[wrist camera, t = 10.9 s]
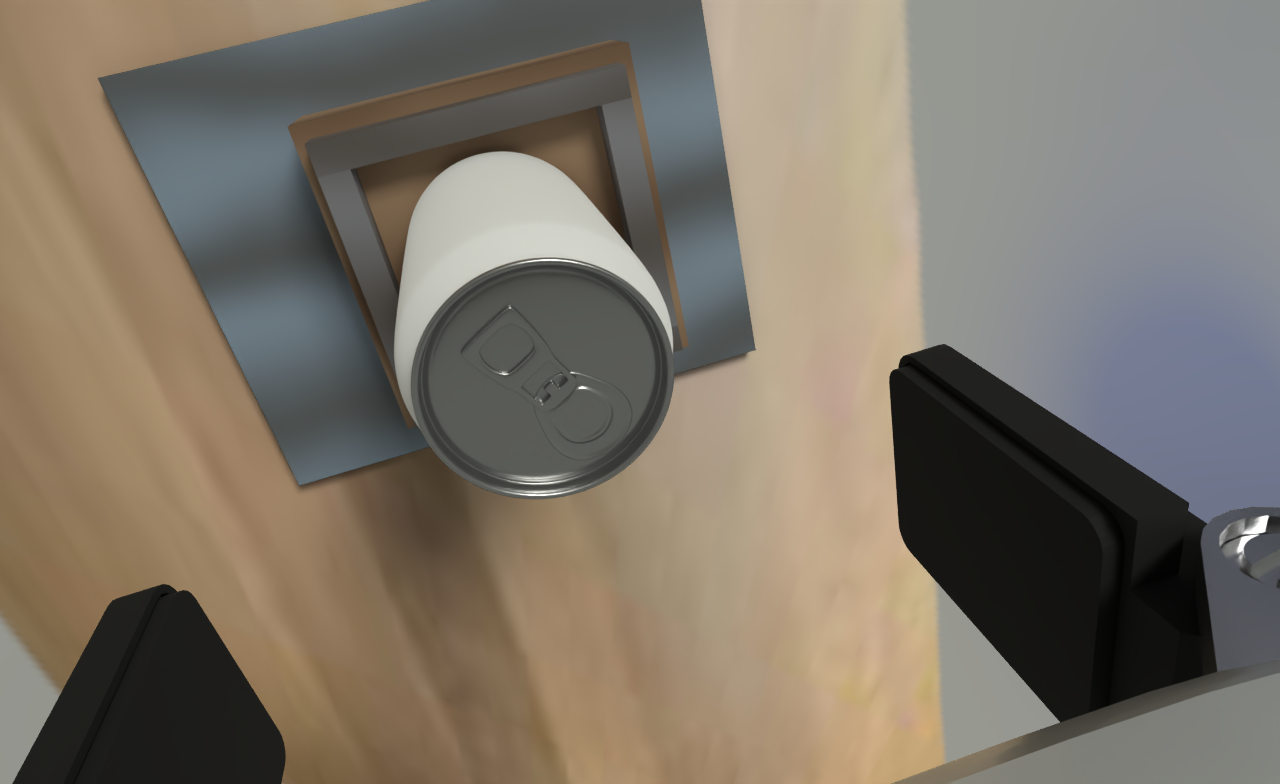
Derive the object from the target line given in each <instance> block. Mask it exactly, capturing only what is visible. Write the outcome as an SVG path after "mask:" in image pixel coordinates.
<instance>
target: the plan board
mask: <svg viewBox="0 0 1280 784" xmlns="http://www.w3.org/2000/svg"><path fill="white" fill-rule="evenodd" d="M98 80H99V82H100V84H101V86H102V88H103V90H104V92H105V94H106V96H107V98H108V100H109V102H110V104H111V106H112V108H113V110H114V112H115V114H116V116H117V118H118V120H119V122H120V124H121V126H122V128H123V130H124V132H125V134H126V136H127V138H128V140H129V142H130V144H131V146H132V148H133V150H134V152H135V154H136V156H137V158H138V160H139V163H140V165H141V167H142V169H143V171H144V173H145V175H146V177H147V179H148V181H149V183H150V185H151V187H152V189H153V191H154V193H155V195H156V197H157V199H158V201H159V203H160V205H161V207H162V209H163V211H164V213H165V215H166V217H167V219H168V221H169V223H170V225H171V227H172V229H173V231H174V233H175V235H176V237H177V239H178V241H179V243H180V245H181V247H182V249H183V251H184V253H185V256H186V258H187V260H188V262H189V264H190V266H191V268H192V270H193V272H194V274H195V276H196V278H197V280H198V282H199V284H200V286H201V288H202V290H203V292H204V294H205V296H206V298H207V300H208V302H209V304H210V306H211V308H212V310H213V312H214V314H215V316H216V318H217V320H218V322H219V324H220V326H221V328H222V330H223V332H224V334H225V336H226V338H227V340H228V342H229V344H230V347H231V349H232V351H233V353H234V355H235V357H236V359H237V361H238V363H239V365H240V367H241V369H242V371H243V373H244V375H245V377H246V379H247V381H248V383H249V385H250V387H251V389H252V391H253V393H254V395H255V397H256V399H257V401H258V403H259V405H260V407H261V409H262V411H263V413H264V415H265V417H266V419H267V421H268V423H269V425H270V427H271V429H272V431H273V433H274V435H275V437H276V440H277V442H278V444H279V446H280V448H281V450H282V452H283V454H284V456H285V458H286V460H287V462H288V464H289V466H290V468H291V470H292V472H293V474H294V476H295V478H296V480H297V482H298V484H299V485H303V484H306V483H309V482H313V481H316V480H319V479H323V478H326V477H330V476H333V475H336V474H340V473H343V472H346V471H350V470H353V469H356V468H360V467H363V466H367V465H370V464H373V463H377V462H380V461H383V460H387V459H390V458H394V457H397V456H400V455H404V454H407V453H410V452H414V451H417V450H420V449H424V448H427V447H430V446H429V444H428V443H427V441H426V439H425V437H424V436H423V434H422V432H421V430H420V428H419V427H418V426H417V424H416V423H415V421H414V420H413V418H412V416H411V415H410V413H409V411H408V409H407V407H406V405H405V403H404V400H403V398H402V395H401V392H400V389H399V385H398V381H397V376H396V370H395V362H394V337H395V326H396V316H397V308H398V300H399V291H400V284H401V276H402V268H403V261H404V254H405V247H406V240H407V235H408V229H409V225H410V221H411V217H412V214H413V212H414V209H415V207H416V205H417V203H418V201H419V199H420V197H421V196H422V194H423V192H424V191H425V190H426V188H427V187H428V186H429V185H430V183H431V182H432V181H433V180H434V179H435V178H436V177H437V176H438V175H439V174H441V173H442V172H443V171H444V170H446V169H447V168H449V167H450V166H452V165H453V164H455V163H457V162H459V161H461V160H463V159H466V158H468V157H471V156H474V155H478V154H482V153H488V152H499V151H505V152H516V153H522V154H526V155H530V156H533V157H536V158H538V159H541V160H543V161H545V162H547V163H549V164H551V165H553V166H554V167H556V168H557V169H559V170H560V171H561V172H563V173H564V174H565V175H566V176H568V177H569V178H570V179H571V180H572V181H573V182H574V183H575V184H576V185H577V186H578V187H579V188H580V190H581V191H582V192H583V193H584V194H585V195H586V196H587V197H588V199H589V200H590V201H591V202H592V203H593V204H594V206H595V207H596V208H597V209H598V210H599V211H600V213H601V214H602V215H603V216H604V217H605V219H606V220H607V221H608V222H609V223H610V224H611V226H612V227H613V228H614V229H615V230H616V232H617V233H618V234H619V235H620V236H621V238H622V239H623V240H624V241H625V243H626V244H627V245H628V246H629V247H630V249H631V250H632V251H633V252H634V254H635V255H636V256H637V257H638V259H639V260H640V261H641V262H642V264H643V265H644V266H645V268H646V269H647V271H648V272H649V274H650V275H651V276H652V278H653V280H654V281H655V283H656V285H657V287H658V289H659V291H660V293H661V295H662V297H663V300H664V302H665V305H666V307H667V310H668V314H669V317H670V322H671V327H672V335H673V360H674V374H676V373H680V372H683V371H686V370H690V369H693V368H696V367H700V366H703V365H706V364H710V363H713V362H717V361H720V360H723V359H727V358H730V357H733V356H737V355H740V354H743V353H747V352H750V351H754V350H755V344H754V338H753V331H752V325H751V318H750V312H749V306H748V299H747V293H746V286H745V280H744V273H743V267H742V261H741V254H740V248H739V241H738V235H737V228H736V222H735V216H734V209H733V203H732V196H731V190H730V183H729V177H728V171H727V164H726V158H725V151H724V145H723V138H722V132H721V126H720V119H719V113H718V106H717V100H716V93H715V87H714V81H713V74H712V68H711V61H710V55H709V48H708V42H707V36H706V29H705V23H704V16H703V10H702V3H701V0H430V1H425V2H421V3H417V4H412V5H408V6H404V7H400V8H395V9H391V10H387V11H383V12H378V13H374V14H370V15H365V16H361V17H357V18H353V19H348V20H344V21H340V22H336V23H331V24H327V25H323V26H319V27H314V28H310V29H306V30H301V31H297V32H293V33H289V34H284V35H280V36H276V37H272V38H267V39H263V40H259V41H254V42H250V43H246V44H242V45H237V46H233V47H229V48H225V49H220V50H216V51H212V52H208V53H203V54H199V55H195V56H190V57H186V58H182V59H178V60H173V61H169V62H165V63H161V64H156V65H152V66H148V67H143V68H139V69H135V70H131V71H126V72H122V73H118V74H114V75H109V76H105V77H101V78H98Z"/></svg>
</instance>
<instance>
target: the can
mask: <svg viewBox="0 0 1280 784" xmlns="http://www.w3.org/2000/svg"><path fill="white" fill-rule="evenodd" d="M394 362H395V370H396V376H397V381H398V385H399V389H400V392H401V395H402V398H403V400H404V403H405V405H406V407H407V409H408V411H409V413H410V415H411V416H412V418H413V420H414V421H415V423H416V424H417V426H418V427H419V428H420V430H421V432H422V434H423V436H424V437H425V439H426V441H427V443H428V444H429V446H430V447H431V448H432V450H433V451H434V452H435V454H436V455H437V456H438V457H439V458H440V459H441V461H442V462H443V463H444V464H445V465H447V466H448V467H449V468H450V469H451V470H452V471H454V472H455V473H456V474H458V475H459V476H460V477H462V478H463V479H465V480H467V481H468V482H470V483H472V484H474V485H476V486H478V487H480V488H482V489H485V490H487V491H490V492H493V493H496V494H500V495H504V496H508V497H514V498H521V499H550V498H558V497H564V496H568V495H573V494H576V493H579V492H583V491H585V490H588V489H591V488H593V487H595V486H598V485H600V484H602V483H604V482H605V481H607V480H609V479H611V478H612V477H614V476H615V475H617V474H618V473H620V472H621V471H623V470H624V469H625V468H626V467H628V466H629V465H630V464H631V463H632V462H633V461H635V460H636V459H637V458H638V457H639V456H640V455H641V453H642V452H643V451H644V450H645V449H646V448H647V446H648V445H649V444H650V442H651V441H652V440H653V438H654V437H655V435H656V434H657V432H658V430H659V428H660V427H661V425H662V423H663V421H664V418H665V416H666V413H667V411H668V408H669V405H670V401H671V397H672V392H673V385H674V360H673V335H672V327H671V322H670V317H669V314H668V310H667V307H666V305H665V302H664V300H663V297H662V295H661V293H660V291H659V289H658V287H657V285H656V283H655V281H654V280H653V278H652V276H651V275H650V274H649V272H648V271H647V269H646V268H645V266H644V265H643V264H642V262H641V261H640V260H639V259H638V257H637V256H636V255H635V254H634V252H633V251H632V250H631V249H630V247H629V246H628V245H627V244H626V243H625V241H624V240H623V239H622V238H621V236H620V235H619V234H618V233H617V232H616V230H615V229H614V228H613V227H612V226H611V224H610V223H609V222H608V221H607V220H606V219H605V217H604V216H603V215H602V214H601V213H600V211H599V210H598V209H597V208H596V207H595V206H594V204H593V203H592V202H591V201H590V200H589V199H588V197H587V196H586V195H585V194H584V193H583V192H582V191H581V190H580V188H579V187H578V186H577V185H576V184H575V183H574V182H573V181H572V180H571V179H570V178H569V177H568V176H566V175H565V174H564V173H563V172H561V171H560V170H559V169H557V168H556V167H554V166H553V165H551V164H549V163H547V162H545V161H543V160H541V159H538V158H536V157H533V156H530V155H526V154H522V153H516V152H505V151H499V152H488V153H482V154H478V155H474V156H471V157H468V158H466V159H463V160H461V161H459V162H457V163H455V164H453V165H452V166H450V167H449V168H447V169H446V170H444V171H443V172H442V173H441V174H439V175H438V176H437V177H436V178H435V179H434V180H433V181H432V182H431V183H430V185H429V186H428V187H427V188H426V190H425V191H424V192H423V194H422V196H421V197H420V199H419V201H418V203H417V205H416V207H415V209H414V212H413V214H412V217H411V221H410V225H409V229H408V235H407V240H406V247H405V254H404V261H403V268H402V276H401V284H400V291H399V300H398V308H397V316H396V326H395V337H394Z"/></svg>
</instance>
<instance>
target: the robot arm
mask: <svg viewBox="0 0 1280 784" xmlns="http://www.w3.org/2000/svg"><path fill="white" fill-rule="evenodd" d="M889 384H890V399H891V414H892V429H893V444H894V459H895V474H896V489H897V504H898V519H899V529H900V532H901V536H902V538H903V541H904V543H905V545H906V546H907V548H908V549H909V551H910V552H911V553H912V554H913V556H914V557H915V558H916V559H917V560H918V561H919V562H920V564H921V565H922V566H923V567H924V568H925V569H926V570H927V571H928V573H929V574H930V575H931V576H932V577H933V578H934V579H935V581H936V582H937V583H938V584H939V585H940V586H941V587H942V589H943V590H944V591H945V592H946V593H947V594H948V595H949V596H950V597H951V599H952V600H953V601H954V602H955V603H956V604H957V606H958V607H959V608H960V609H961V610H962V611H963V612H964V613H965V615H966V616H967V617H968V618H969V619H970V620H971V621H972V623H973V624H974V625H975V626H976V627H977V628H978V629H979V630H980V632H981V633H982V634H983V635H984V636H985V637H986V638H987V640H988V641H989V642H990V643H991V644H992V645H993V646H994V648H995V649H996V650H997V651H998V652H999V653H1000V654H1001V656H1002V657H1003V658H1004V659H1005V660H1006V661H1007V662H1008V663H1009V665H1010V666H1011V667H1012V668H1013V669H1014V670H1015V671H1016V673H1017V674H1018V675H1019V676H1020V677H1021V678H1022V679H1023V680H1024V682H1025V683H1026V684H1027V685H1028V686H1029V687H1030V688H1031V690H1032V691H1033V692H1034V693H1035V694H1036V695H1037V696H1038V698H1039V699H1040V700H1041V701H1042V702H1043V703H1044V704H1045V705H1046V707H1047V708H1048V709H1049V710H1050V711H1051V712H1052V713H1053V715H1054V716H1055V717H1056V718H1057V719H1058V720H1059V721H1060V723H1058V724H1055V725H1052V726H1050V727H1046V728H1044V729H1040V730H1038V731H1035V732H1032V733H1029V734H1026V735H1023V736H1020V737H1017V738H1014V739H1012V740H1009V741H1006V742H1004V743H1001V744H998V745H995V746H993V747H990V748H987V749H985V750H982V751H979V752H976V753H974V754H971V755H968V756H965V757H963V758H960V759H957V760H955V761H952V762H949V763H946V764H944V765H941V766H938V767H935V768H933V769H930V770H927V771H924V772H922V773H919V774H916V775H913V776H911V777H908V778H905V779H903V780H900V781H897V782H894V783H892V784H1280V508H1279V507H1248V508H1243V509H1236V510H1230V511H1228V512H1226V513H1223V514H1221V515H1219V516H1216V517H1214V518H1213V519H1212V520H1211V521H1210V522H1209V523H1208V524H1207V523H1205V522H1204V521H1202V520H1201V519H1199V518H1198V517H1196V516H1195V515H1193V514H1192V513H1190V512H1189V511H1188V508H1189V503H1188V502H1187V501H1185V500H1184V499H1182V498H1180V497H1179V496H1178V495H1176V494H1175V493H1173V492H1172V491H1170V490H1168V489H1167V488H1165V487H1164V486H1162V485H1161V484H1159V483H1158V482H1156V481H1155V480H1153V479H1152V478H1150V477H1149V476H1147V475H1146V474H1144V473H1143V472H1141V471H1139V470H1138V469H1136V468H1135V467H1133V466H1132V465H1130V464H1129V463H1127V462H1126V461H1124V460H1123V459H1121V458H1120V457H1118V456H1117V455H1115V454H1113V453H1112V452H1110V451H1109V450H1107V449H1106V448H1104V447H1103V446H1101V445H1100V444H1098V443H1097V442H1095V441H1093V440H1092V439H1090V438H1089V437H1087V436H1086V435H1084V434H1083V433H1081V432H1080V431H1078V430H1077V429H1075V428H1074V427H1072V426H1071V425H1069V424H1068V423H1066V422H1065V421H1063V420H1061V419H1060V418H1058V417H1057V416H1055V415H1054V414H1052V413H1051V412H1049V411H1048V410H1046V409H1045V408H1043V407H1042V406H1040V405H1038V404H1037V403H1035V402H1034V401H1032V400H1031V399H1029V398H1028V397H1026V396H1025V395H1023V394H1022V393H1020V392H1019V391H1017V390H1015V389H1014V388H1013V387H1011V386H1009V385H1008V384H1006V383H1005V382H1003V381H1002V380H1000V379H999V378H997V377H996V376H994V375H993V374H991V373H990V372H988V371H987V370H985V369H983V368H982V367H980V366H979V365H977V364H976V363H974V362H973V361H971V360H970V359H968V358H967V357H965V356H963V355H962V354H960V353H959V352H957V351H956V350H954V349H953V348H951V347H950V346H947V345H945V344H942V345H937V346H934V347H931V348H928V349H924V350H921V351H918V352H915V353H911V354H908V355H905V356H903V357H902V358H901V359H900V363H899V369H895V370H893V371H892V372H891V374H890V380H889ZM285 758H286V757H285V746H284V742H283V739H282V736H281V734H280V732H279V730H278V728H277V727H276V725H275V724H274V722H273V720H272V719H271V717H270V716H269V714H268V713H267V711H266V709H265V708H264V706H263V705H262V703H261V701H260V700H259V698H258V697H257V695H256V693H255V692H254V690H253V689H252V687H251V686H250V684H249V682H248V681H247V679H246V678H245V676H244V674H243V673H242V671H241V670H240V668H239V667H238V665H237V663H236V662H235V660H234V659H233V657H232V655H231V654H230V652H229V651H228V649H227V648H226V646H225V644H224V643H223V641H222V640H221V638H220V636H219V635H218V633H217V632H216V630H215V629H214V627H213V625H212V624H211V622H210V621H209V619H208V617H207V616H206V614H205V613H204V611H203V609H202V608H201V606H200V605H199V603H198V602H197V600H196V598H195V597H194V596H193V595H192V594H191V593H190V592H188V591H185V590H182V591H179V592H177V591H176V590H175V589H174V588H173V587H171V586H170V585H165V584H162V585H159V586H156V587H152V588H149V589H146V590H143V591H139V592H136V593H133V594H130V595H126V596H123V597H120V598H117V599H115V600H113V601H112V602H111V603H110V604H109V606H108V607H107V609H106V611H105V612H104V614H103V616H102V618H101V620H100V622H99V624H98V625H97V627H96V629H95V631H94V633H93V635H92V637H91V638H90V640H89V642H88V644H87V646H86V648H85V650H84V651H83V653H82V655H81V657H80V659H79V661H78V663H77V664H76V666H75V668H74V670H73V672H72V674H71V676H70V678H69V679H68V681H67V683H66V685H65V687H64V689H63V691H62V692H61V694H60V696H59V698H58V700H57V702H56V704H55V706H54V707H53V709H52V711H51V713H50V715H49V717H48V718H47V720H46V722H45V724H44V726H43V728H42V730H41V731H40V733H39V735H38V737H37V739H36V741H35V743H34V744H33V746H32V748H31V750H30V752H29V754H28V756H27V757H26V760H25V761H24V763H23V765H22V767H21V769H20V771H19V772H18V774H17V776H16V778H15V780H14V782H13V784H281V782H282V777H283V772H284V766H285Z"/></svg>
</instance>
